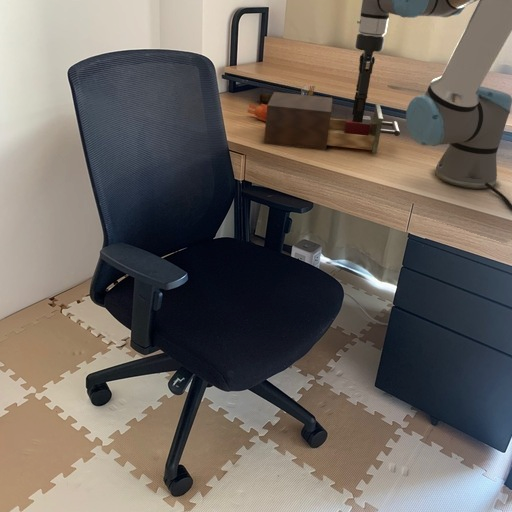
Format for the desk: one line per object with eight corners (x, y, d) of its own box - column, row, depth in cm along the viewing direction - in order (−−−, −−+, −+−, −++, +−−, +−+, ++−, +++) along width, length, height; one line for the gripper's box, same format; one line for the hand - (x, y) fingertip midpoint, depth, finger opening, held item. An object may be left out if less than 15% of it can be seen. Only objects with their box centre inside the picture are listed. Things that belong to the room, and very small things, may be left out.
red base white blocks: (367, 138, 158) (370, 116, 154) (367, 141, 155) (371, 119, 151) (343, 135, 158) (347, 114, 155) (343, 138, 155) (347, 117, 152)
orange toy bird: (246, 99, 172) (276, 107, 166) (259, 103, 178) (288, 110, 173) (243, 114, 173) (272, 122, 168) (255, 118, 180) (284, 126, 174)
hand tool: (258, 103, 192) (259, 90, 190) (266, 101, 195) (267, 89, 192) (291, 116, 180) (293, 102, 178) (300, 115, 182) (302, 101, 180)
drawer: (392, 138, 163) (398, 106, 158) (397, 155, 149) (404, 120, 144) (316, 130, 165) (320, 98, 160) (313, 146, 151) (317, 111, 146)
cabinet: (327, 133, 166) (332, 97, 160) (325, 150, 151) (331, 111, 145) (271, 126, 167) (274, 91, 162) (264, 143, 153) (267, 105, 147)
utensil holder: (307, 117, 180) (311, 81, 174) (316, 122, 175) (320, 85, 169) (291, 117, 178) (295, 81, 172) (300, 123, 173) (304, 86, 167)
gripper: (356, 28, 151) (344, 108, 163) (358, 38, 134) (344, 126, 146) (383, 30, 150) (368, 110, 162) (387, 41, 133) (371, 129, 145)
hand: (357, 118), depth 154 cm, fingers open, 7 cm apart
